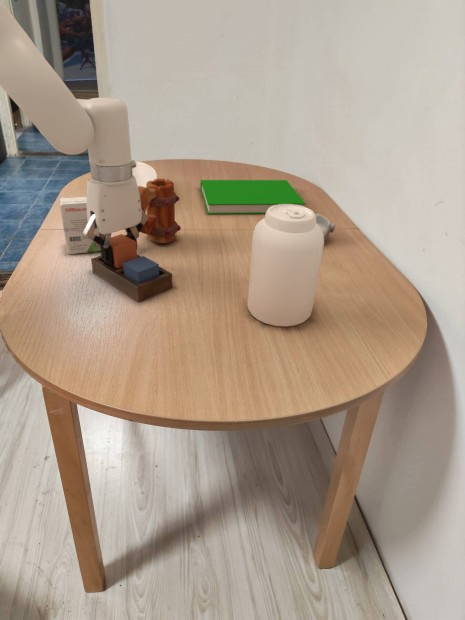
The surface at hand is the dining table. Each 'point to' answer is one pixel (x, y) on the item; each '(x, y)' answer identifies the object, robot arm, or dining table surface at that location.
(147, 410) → the dining table surface
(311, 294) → the can
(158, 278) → the dark wooden tray
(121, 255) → the orange block
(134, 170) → the bowl
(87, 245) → the ink box
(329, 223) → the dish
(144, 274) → the cube blue
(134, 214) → the robot arm
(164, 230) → the mug
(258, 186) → the book
